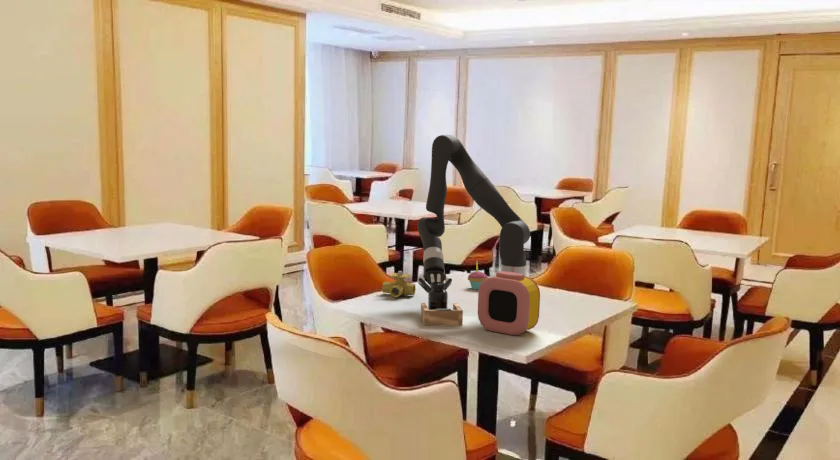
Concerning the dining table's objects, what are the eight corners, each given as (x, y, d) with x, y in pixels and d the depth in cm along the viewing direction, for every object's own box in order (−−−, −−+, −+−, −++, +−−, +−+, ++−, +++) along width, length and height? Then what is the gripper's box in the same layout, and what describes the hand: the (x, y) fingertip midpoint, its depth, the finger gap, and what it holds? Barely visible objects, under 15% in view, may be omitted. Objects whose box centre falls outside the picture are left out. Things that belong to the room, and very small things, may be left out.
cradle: (420, 316, 259) (420, 301, 258) (456, 316, 260) (457, 302, 260) (424, 325, 247) (424, 309, 247) (462, 325, 249) (462, 309, 248)
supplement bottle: (435, 312, 266) (436, 280, 264) (450, 316, 261) (452, 282, 260) (423, 315, 260) (424, 282, 259) (439, 319, 256) (440, 285, 255)
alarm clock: (475, 329, 244) (477, 272, 242) (490, 322, 253) (493, 267, 251) (525, 339, 234) (528, 279, 232) (540, 332, 243) (543, 274, 241)
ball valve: (416, 295, 295) (416, 270, 294) (409, 300, 285) (410, 275, 284) (386, 292, 298) (386, 268, 297) (378, 297, 288) (379, 272, 287)
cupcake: (464, 286, 313) (465, 259, 312) (482, 286, 316) (484, 258, 314) (471, 290, 305) (472, 262, 304) (490, 290, 308) (491, 261, 306)
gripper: (417, 255, 271) (419, 295, 260) (452, 256, 272) (456, 296, 262) (415, 267, 277) (417, 306, 266) (449, 267, 278) (453, 307, 268)
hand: (436, 301), depth 264 cm, fingers closed
